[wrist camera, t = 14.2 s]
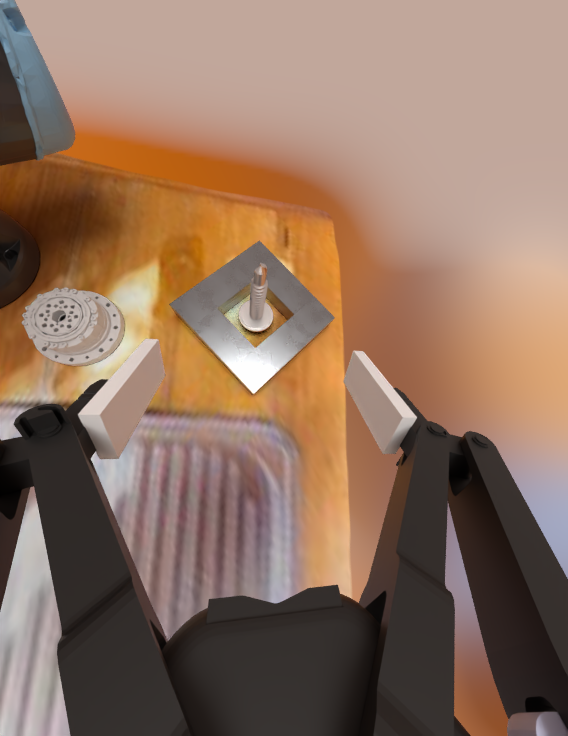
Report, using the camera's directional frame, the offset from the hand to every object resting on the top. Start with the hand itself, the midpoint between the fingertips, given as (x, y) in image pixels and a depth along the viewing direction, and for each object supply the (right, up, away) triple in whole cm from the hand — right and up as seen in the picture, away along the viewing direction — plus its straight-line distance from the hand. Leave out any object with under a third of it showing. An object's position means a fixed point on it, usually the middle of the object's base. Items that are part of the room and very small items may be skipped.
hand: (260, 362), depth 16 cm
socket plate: (-3, +7, +18) cm, 20 cm away
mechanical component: (-25, +5, +15) cm, 29 cm away
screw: (-3, +7, +19) cm, 20 cm away
